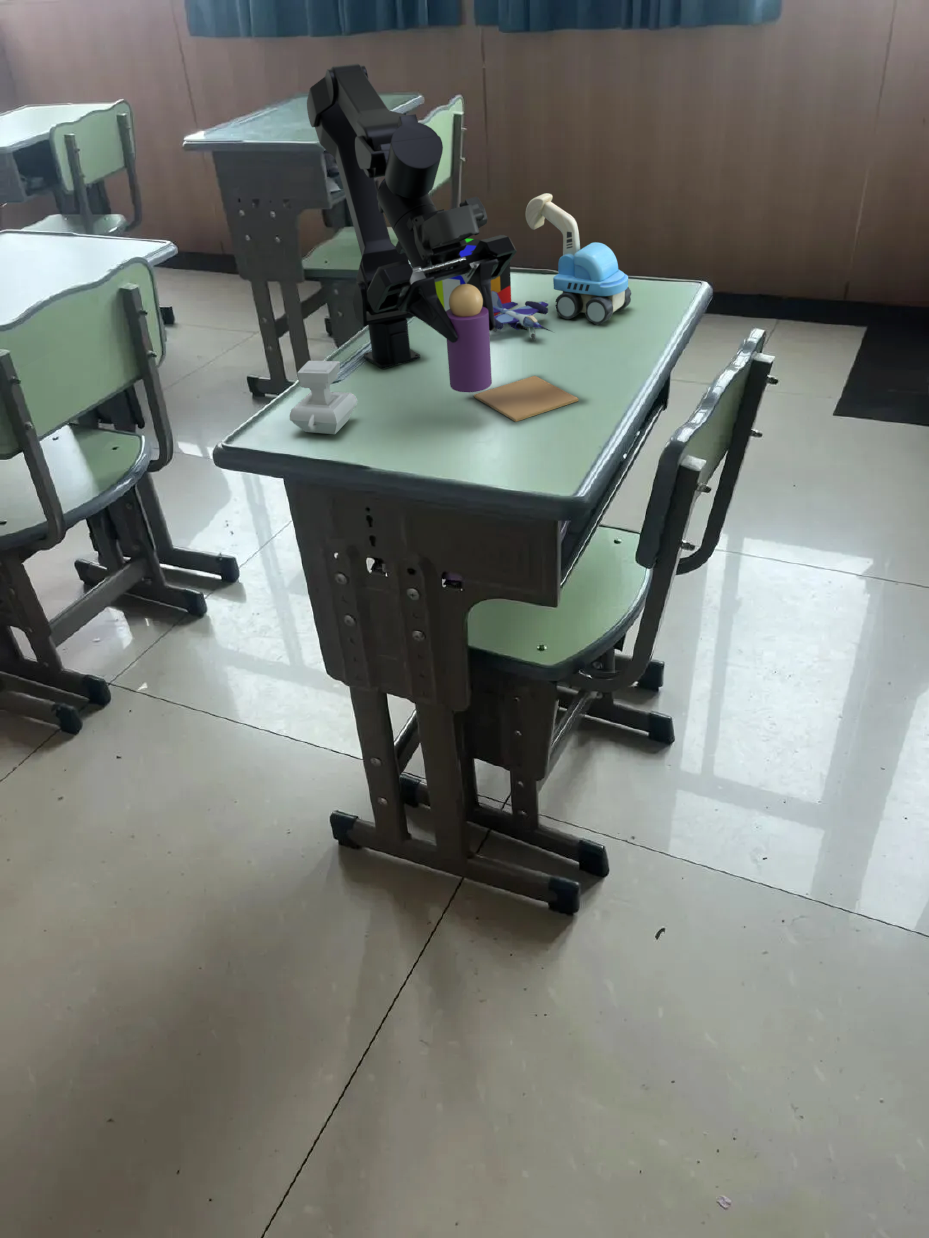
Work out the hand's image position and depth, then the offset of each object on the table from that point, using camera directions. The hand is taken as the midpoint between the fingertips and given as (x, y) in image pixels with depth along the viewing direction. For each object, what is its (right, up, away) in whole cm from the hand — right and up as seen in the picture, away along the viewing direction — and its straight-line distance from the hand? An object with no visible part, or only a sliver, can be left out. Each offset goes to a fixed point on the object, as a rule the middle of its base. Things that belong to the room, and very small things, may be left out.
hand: (474, 335), depth 109 cm
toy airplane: (+7, +10, +33) cm, 35 cm away
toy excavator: (+17, +16, +39) cm, 46 cm away
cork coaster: (+7, -5, +13) cm, 15 cm away
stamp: (-19, -9, +10) cm, 23 cm away
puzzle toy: (0, +17, +43) cm, 46 cm away
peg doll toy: (0, -5, +5) cm, 7 cm away
